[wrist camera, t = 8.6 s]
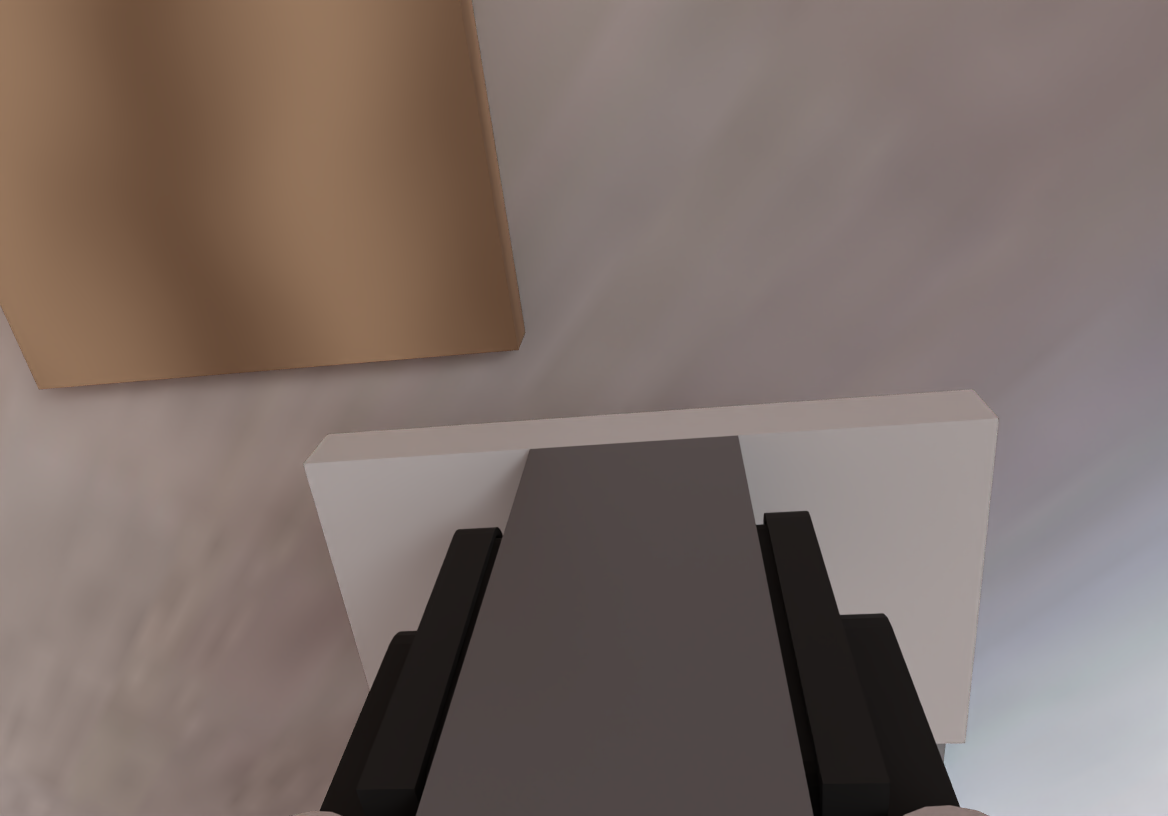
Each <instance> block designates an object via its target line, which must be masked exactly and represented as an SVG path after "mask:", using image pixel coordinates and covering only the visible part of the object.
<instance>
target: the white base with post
mask: <svg viewBox="0 0 1168 816" xmlns="http://www.w3.org/2000/svg"><path fill="white" fill-rule="evenodd" d="M998 422H999V418H998V417H997V416H996V415H995V413H994V412H993V411H992V410H991V409H990V408H989V407H988V406H987V404H986V403H985V402H984V401H983V400H982V399H981V398H980V397H979V395H978V394H977V393H976V392H975V391H974V390H973V389H969V390H954V391H940V392H926V393H911V394H897V395H883V396H868V397H854V398H840V399H825V400H811V401H797V402H782V403H768V404H754V405H739V406H725V407H711V408H696V409H682V410H667V411H653V412H639V413H624V414H610V415H596V416H581V417H567V418H553V419H538V420H524V421H510V422H495V423H481V424H467V425H452V426H438V427H424V428H409V429H395V430H381V431H366V432H352V433H338V434H327V436H326V437H325V438H324V439H323V440H322V442H321V443H320V444H319V445H318V446H317V448H316V449H315V450H314V451H313V452H312V454H311V455H310V456H309V457H308V458H307V460H306V461H305V462H304V463H303V465H304V468H305V472H306V475H307V479H308V482H309V485H310V489H311V492H312V496H313V499H314V502H315V506H316V509H317V513H318V516H319V520H320V523H321V526H322V530H323V533H324V537H325V540H326V543H327V547H328V550H329V554H330V557H331V560H332V564H333V567H334V571H335V574H336V578H337V581H338V584H339V588H340V591H341V595H342V598H343V601H344V605H345V608H346V612H347V615H348V618H349V622H350V625H351V629H352V632H353V635H354V639H355V642H356V646H357V649H358V653H359V656H360V659H361V663H362V666H363V670H364V673H365V676H366V680H367V683H368V687H369V690H370V689H371V687H372V684H373V682H374V680H375V677H376V675H377V672H378V670H379V668H380V665H381V663H382V661H383V658H384V656H385V653H386V651H387V649H388V646H389V644H390V642H391V640H392V639H393V637H394V635H396V634H397V633H398V632H400V631H417V629H418V626H419V624H420V621H421V619H422V616H423V613H424V611H425V608H426V606H427V603H428V600H429V598H430V595H431V593H432V590H433V587H434V585H435V582H436V579H437V577H438V574H439V572H440V569H441V566H442V564H443V561H444V559H445V556H446V553H447V551H448V548H449V546H450V543H451V540H452V538H453V535H454V533H455V532H456V530H458V529H471V528H490V527H498V528H500V530H501V532H502V534H503V537H502V540H501V544H500V547H499V550H498V553H497V556H496V560H495V563H494V566H493V569H492V573H491V576H490V579H489V582H488V585H487V589H486V592H485V595H484V598H483V601H482V605H481V608H480V611H479V614H478V617H477V621H476V624H475V627H474V630H473V634H472V637H471V640H470V643H469V646H468V650H467V653H466V656H465V659H464V662H463V666H462V669H461V672H460V675H459V679H458V682H457V685H456V688H455V691H454V695H453V698H452V701H451V704H450V707H449V711H448V714H447V717H446V720H445V723H444V727H443V730H442V733H441V736H440V740H439V743H438V746H437V749H436V752H435V756H434V759H433V762H432V765H431V768H430V772H429V775H428V778H427V781H426V785H425V788H424V791H423V794H422V797H421V801H420V804H419V807H418V810H417V813H416V816H813V811H812V806H811V801H810V796H809V791H808V786H807V781H806V776H805V771H804V765H803V760H802V755H801V750H800V745H799V740H798V735H797V730H796V725H795V720H794V715H793V710H792V705H791V700H790V695H789V690H788V685H787V680H786V675H785V670H784V664H783V659H782V654H781V649H780V644H779V639H778V634H777V629H776V624H775V619H774V614H773V609H772V604H771V599H770V594H769V589H768V584H767V579H766V574H765V569H764V563H763V558H762V553H761V548H760V543H759V538H758V533H757V528H756V525H760V524H763V518H764V513H771V512H790V511H808V512H809V514H810V516H811V520H812V523H813V526H814V530H815V533H816V536H817V540H818V543H819V546H820V550H821V553H822V556H823V560H824V563H825V566H826V570H827V573H828V577H829V580H830V583H831V587H832V590H833V593H834V597H835V600H836V603H837V607H838V610H839V613H840V615H849V614H876V613H884V614H885V615H886V616H887V617H888V619H889V621H890V623H891V626H892V628H893V631H894V633H895V636H896V638H897V641H898V644H899V646H900V649H901V652H902V654H903V657H904V660H905V662H906V665H907V668H908V670H909V673H910V676H911V678H912V681H913V684H914V686H915V689H916V691H917V694H918V697H919V699H920V702H921V705H922V707H923V710H924V713H925V715H926V718H927V721H928V723H929V726H930V729H931V731H932V734H933V737H934V739H935V742H936V744H945V743H965V738H966V728H967V718H968V709H969V699H970V690H971V680H972V671H973V661H974V651H975V642H976V632H977V623H978V613H979V604H980V594H981V584H982V575H983V565H984V556H985V546H986V537H987V527H988V517H989V508H990V498H991V489H992V479H993V470H994V460H995V450H996V441H997V431H998Z"/></svg>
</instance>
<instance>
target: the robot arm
mask: <svg viewBox="0 0 1168 816" xmlns="http://www.w3.org/2000/svg"><path fill="white" fill-rule="evenodd" d="M756 528H757V533H758V538H759V543H760V548H761V553H762V558H763V563H764V569H765V574H766V579H767V584H768V589H769V594H770V599H771V604H772V609H773V614H774V619H775V624H776V629H777V634H778V639H779V644H780V649H781V654H782V659H783V664H784V670H785V675H786V680H787V685H788V690H789V695H790V700H791V705H792V710H793V715H794V720H795V725H796V730H797V735H798V740H799V745H800V750H801V755H802V760H803V765H804V771H805V776H806V781H807V786H808V791H809V796H810V801H811V806H812V811H813V816H988V815H986V814H984V813H982V812H979V811H977V810H972V809H967V808H961V807H960V805H959V803H958V800H957V798H956V795H955V792H954V790H953V787H952V784H951V782H950V779H949V776H948V774H947V771H946V768H945V766H944V763H943V760H942V758H941V755H940V752H939V750H938V747H937V745H936V742H935V739H934V737H933V734H932V731H931V729H930V726H929V723H928V721H927V718H926V715H925V713H924V710H923V707H922V705H921V702H920V699H919V697H918V694H917V691H916V689H915V686H914V684H913V681H912V678H911V676H910V673H909V670H908V668H907V665H906V662H905V660H904V657H903V654H902V652H901V649H900V646H899V644H898V641H897V638H896V636H895V633H894V631H893V628H892V626H891V623H890V621H889V619H888V617H887V616H886V615H885V614H884V613H876V614H849V615H840V613H839V610H838V607H837V603H836V600H835V597H834V593H833V590H832V587H831V583H830V580H829V577H828V573H827V570H826V566H825V563H824V560H823V556H822V553H821V550H820V546H819V543H818V540H817V536H816V533H815V530H814V526H813V523H812V520H811V516H810V514H809V512H808V511H790V512H771V513H764V518H763V524H760V525H756ZM502 537H503V534H502V532H501V530H500V528H498V527H490V528H471V529H458V530H456V532H455V533H454V535H453V538H452V540H451V543H450V546H449V548H448V551H447V553H446V556H445V559H444V561H443V564H442V566H441V569H440V572H439V574H438V577H437V579H436V582H435V585H434V587H433V590H432V593H431V595H430V598H429V600H428V603H427V606H426V608H425V611H424V613H423V616H422V619H421V621H420V624H419V626H418V629H417V631H400V632H398V633H397V634H396V635H394V637H393V639H392V640H391V642H390V644H389V646H388V649H387V651H386V653H385V656H384V658H383V661H382V663H381V665H380V668H379V670H378V672H377V675H376V677H375V680H374V682H373V684H372V687H371V689H370V692H369V694H368V696H367V699H366V701H365V704H364V706H363V708H362V711H361V713H360V716H359V718H358V720H357V723H356V725H355V728H354V730H353V732H352V735H351V737H350V739H349V742H348V744H347V747H346V749H345V751H344V754H343V756H342V759H341V761H340V763H339V766H338V768H337V771H336V773H335V775H334V778H333V780H332V783H331V785H330V787H329V790H328V792H327V795H326V797H325V799H324V802H323V804H322V807H321V809H320V811H309V812H304V813H300V814H296V815H291V816H416V813H417V810H418V807H419V804H420V801H421V797H422V794H423V791H424V788H425V785H426V781H427V778H428V775H429V772H430V768H431V765H432V762H433V759H434V756H435V752H436V749H437V746H438V743H439V740H440V736H441V733H442V730H443V727H444V723H445V720H446V717H447V714H448V711H449V707H450V704H451V701H452V698H453V695H454V691H455V688H456V685H457V682H458V679H459V675H460V672H461V669H462V666H463V662H464V659H465V656H466V653H467V650H468V646H469V643H470V640H471V637H472V634H473V630H474V627H475V624H476V621H477V617H478V614H479V611H480V608H481V605H482V601H483V598H484V595H485V592H486V589H487V585H488V582H489V579H490V576H491V573H492V569H493V566H494V563H495V560H496V556H497V553H498V550H499V547H500V544H501V540H502Z"/></svg>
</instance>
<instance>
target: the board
mask: <svg viewBox="0 0 1168 816" xmlns="http://www.w3.org/2000/svg"><path fill="white" fill-rule="evenodd" d="M0 305H1V307H2V309H3V312H4V314H5V316H6V318H7V320H8V322H9V325H10V327H11V329H12V331H13V333H14V336H15V338H16V340H17V342H18V344H19V347H20V349H21V351H22V353H23V355H24V358H25V360H26V362H27V364H28V366H29V368H30V371H31V373H32V375H33V377H34V379H35V382H36V384H37V386H38V388H39V389H50V388H62V387H74V386H86V385H98V384H110V383H122V382H135V381H147V380H159V379H171V378H183V377H195V376H207V375H219V374H232V373H244V372H256V371H268V370H280V369H292V368H304V367H317V366H329V365H341V364H353V363H365V362H377V361H389V360H402V359H414V358H426V357H438V356H450V355H462V354H474V353H487V352H499V351H511V350H519V347H520V345H521V342H522V340H523V337H524V335H525V328H524V321H523V315H522V309H521V303H520V297H519V290H518V284H517V278H516V272H515V266H514V259H513V253H512V247H511V241H510V235H509V228H508V222H507V216H506V210H505V204H504V197H503V191H502V185H501V179H500V173H499V167H498V160H497V154H496V148H495V142H494V136H493V129H492V123H491V117H490V111H489V105H488V98H487V92H486V86H485V80H484V74H483V67H482V61H481V55H480V49H479V43H478V36H477V30H476V24H475V18H474V12H473V6H472V0H0Z"/></svg>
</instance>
